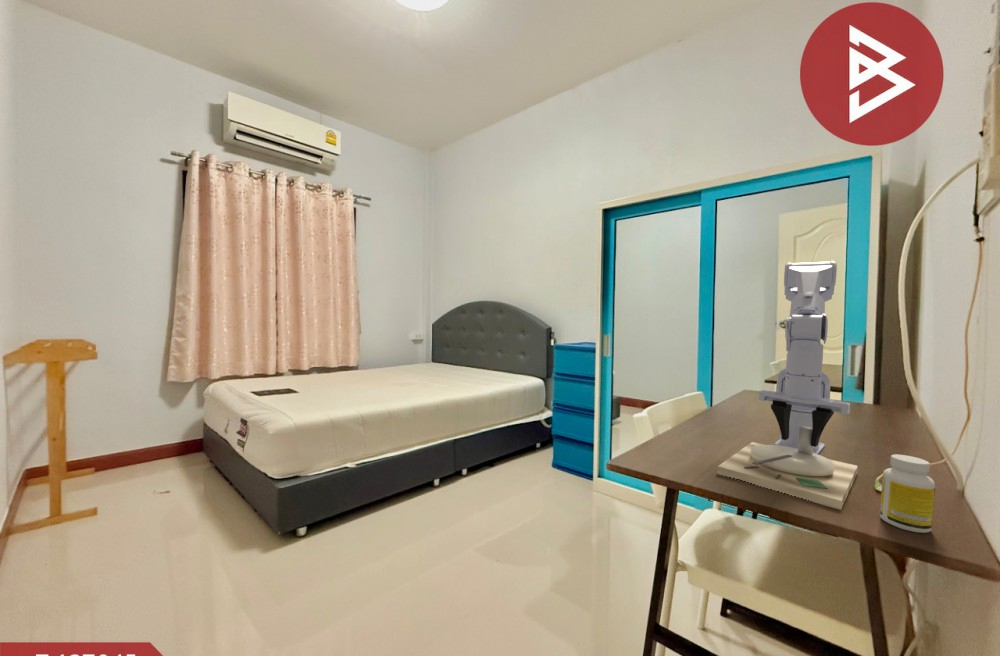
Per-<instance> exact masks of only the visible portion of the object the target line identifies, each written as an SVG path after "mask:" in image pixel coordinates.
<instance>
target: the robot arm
mask: <svg viewBox="0 0 1000 656" xmlns="http://www.w3.org/2000/svg"><path fill="white" fill-rule="evenodd" d="M837 266H838V264H837V262H836V261H835V260H830V261H816V262H787V263H786V264H785V265H784V272H783V273H784V274H783V275H784V276H783V286H784V295H785V300H788V301H789V302H790V310H789V316H786V320H785V334H784V337H785V342H786V343H785V345H786V346H785V347H786V348H785V350H786V351H787V353H786V361H785V368H783V369H782V370H780V371H779V373H778V375H777V381H776V385H775V387H776V388H775V391H772V390H764V389H761V390H758V400H759V401H764V402H765V401H767V402H772V403H771V405H770V409H771V410H772V411H771V412H773V415H774V417H775V418H776V421H777V423H778V427H779V431H780V437H779V438H780V439H778V440H777V441H776V442H774V445H779V446H786V447H792V448H797V449H798V442H799V427H800V426H806V427H811V428H813V429H812V437H811V446H814V447H813V453H815V454H818V455H820V453H821V451H823V449H824V448H825V445H826V444H825V443H822V442H820V438H821V435H822V434H823V432H824V430H825V427H826V425H827V424H828V422H829V421H830V419H831V418H832V416H833V415H834V413H840V414H841V415H849V414H850V413H851V402H845V401H840V400H835V399H831V385H830V383H831V382H830V381H831V378H830V377H829V375H828V374H826V373H825V372H824V371H823V359H824V345H825V344H826V342H827V340H828V339H827V338H828V327H829V320H828V315H827V313H826V311H825V310H826V309H825V308H826V302H827V301H831V300H832V298H833V296H834V294H835V286H836V282H837V272H838V271H837V268H838V267H837ZM821 340H822V341H823V343H821Z"/></svg>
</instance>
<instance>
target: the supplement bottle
mask: <svg viewBox="0 0 1000 656" xmlns="http://www.w3.org/2000/svg"><path fill="white" fill-rule="evenodd" d="M890 466H892V467H890V468H886V469H885V470H884V471H883V473H882V480H881V481H882V482H881V483H882V484H881V497H880V508H879V516H880V519H882V520H883V521H884V522H886V523H887V524H889V525H891V526H893V527H896V528H899V529H901V530H905V531H907V532H914V533H923V534H927V533H930V532H931V531H932V528H933V527H932V526H933V517H934V504H935V493H936V492H935V491H936V483H935V481H934V480H933V478H931V476H928V475H927V474H929V473H930V466H931V464H930V462H929V461H927V460H925V459H923V458H919V457H915V456H912V455H905V454H897V453H896V454H894V453H893V454H892V455H890Z"/></svg>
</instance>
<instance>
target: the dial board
mask: <svg viewBox="0 0 1000 656" xmlns="http://www.w3.org/2000/svg"><path fill="white" fill-rule="evenodd" d="M756 445H765V444H763V443H758V442H755V441H751V442H749V443H748V444H747V445H746V446H744V447H742V448H741V449H740V450H738V451H737V452H736V453H734V454H733V455H731V456H730V457H729V458H727V459H726V460H724V461H722V463H721V464H719V465H718V466H717V472H716V474H717V475H718V476H719V475H720V476H723V477H726V476H727V478H729V477H731V478H730V479H733V478H735V479H734V480H736V479H740V480H743V481H746V482H745V483H747V482H749V483H748V484H750V483H752V484H751V485H753V484H755V485H754V486H757V485H758V486H757V487H760V486H761V488H764V487H765V488H764V489H767V488H768V489H767V490H770V489H772V490H771V491H774V490H775V491H774V492H777V491H779V492H778V493H781V492H782V493H781V494H784V493H786V494H785V495H787V494H789V495H788V496H791V495H792V496H791V497H794V496H796V497H795V498H798V497H799V498H798V499H801V498H803V499H802V500H805V499H806V501H808V500H809V501H808V502H811V501H812V503H816V504H818V505H821V506H826V507H829V508H832V509H836V510H839V511H842V509H843V507H844V504H845V502H846V500H847V497H848V495H849V494H850V490H851V489H852V486H853V484H854V481H855V480H856V477H857V474H858V465H856V464H852V463H847V462H844V461H839V460H834V459H830V458H828V459H829V460H830V461H832V462H833V464H834V472H833V474H831V475H827V476H807V475H800V474H794V473H789V472H784V471H781V470H777V469H774V468H771V467H768V466H765V465H763V464H758V465H755V464H753V463H752V462H756V461H755V460H754V459H753V458H752V457H751V448H752V447H753V446H756ZM740 480H739V481H740ZM743 481H742V482H743Z"/></svg>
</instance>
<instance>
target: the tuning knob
mask: <svg viewBox="0 0 1000 656" xmlns="http://www.w3.org/2000/svg"><path fill="white" fill-rule="evenodd" d="M812 429H813V428H811V427H806V426H800V427H799V442H798V449H797V448H792V447H786V446H779V445H775V444H764V445H756V446H753V447H752V448H751V457H752V458H753V459H754V460H755V461H756V462H752V463H753V464H755V465H758V464H763V465H765V466H768V467H771V468H774V469H777V470H781V471H784V472H789V473H794V474H800V475H807V476H827V475H831V474H833V472H834V464H833V462H832V461H830V460H831V459H830V458H827V457H825V456H823V455H820V454H815V453H813V447H814V446H811V437H812ZM829 459H830V460H829Z"/></svg>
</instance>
